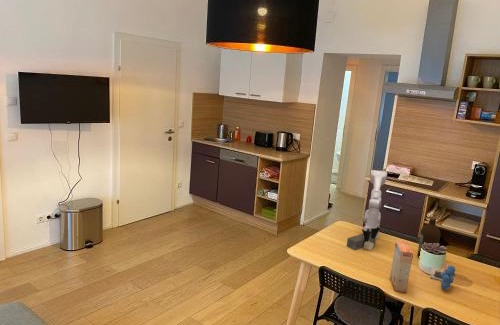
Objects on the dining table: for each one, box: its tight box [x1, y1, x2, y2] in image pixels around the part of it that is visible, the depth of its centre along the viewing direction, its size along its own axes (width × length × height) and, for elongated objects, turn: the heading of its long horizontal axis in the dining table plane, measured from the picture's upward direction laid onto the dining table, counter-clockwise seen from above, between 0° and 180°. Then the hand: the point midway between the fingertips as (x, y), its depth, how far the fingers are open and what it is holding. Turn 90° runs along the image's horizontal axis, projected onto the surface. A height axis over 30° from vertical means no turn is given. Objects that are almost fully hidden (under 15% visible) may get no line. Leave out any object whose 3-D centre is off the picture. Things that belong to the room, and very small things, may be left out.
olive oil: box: [417, 216, 441, 259], centre depth 220 cm, size 11×11×25 cm
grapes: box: [440, 264, 457, 291], centre depth 189 cm, size 12×7×12 cm, turn 134°
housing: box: [346, 233, 377, 251], centre depth 234 cm, size 20×6×5 cm, turn 128°
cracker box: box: [389, 239, 414, 293], centre depth 187 cm, size 14×6×21 cm, turn 168°
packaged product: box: [429, 261, 450, 283], centre depth 203 cm, size 18×5×10 cm
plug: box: [362, 241, 375, 251], centre depth 234 cm, size 4×15×3 cm, turn 40°
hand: (369, 239), depth 229 cm, fingers open, 7 cm apart
